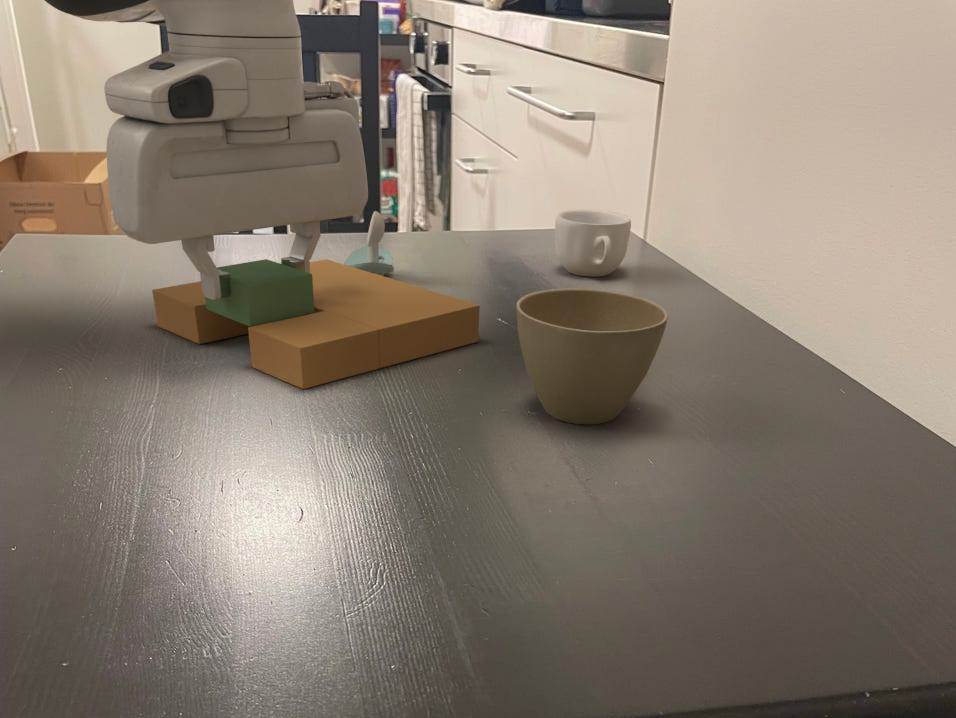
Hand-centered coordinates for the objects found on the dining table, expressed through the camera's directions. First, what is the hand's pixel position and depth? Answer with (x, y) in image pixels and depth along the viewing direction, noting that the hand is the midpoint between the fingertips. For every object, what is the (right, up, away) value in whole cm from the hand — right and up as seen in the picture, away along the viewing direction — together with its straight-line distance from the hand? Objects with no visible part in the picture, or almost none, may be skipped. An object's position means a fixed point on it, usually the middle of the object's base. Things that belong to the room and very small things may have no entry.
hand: (257, 289), depth 75 cm
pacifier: (+6, +9, +22) cm, 24 cm away
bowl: (+24, -11, -7) cm, 28 cm away
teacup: (+29, +11, +26) cm, 41 cm away
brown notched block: (+4, -2, +6) cm, 7 cm away
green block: (0, -1, +1) cm, 2 cm away
